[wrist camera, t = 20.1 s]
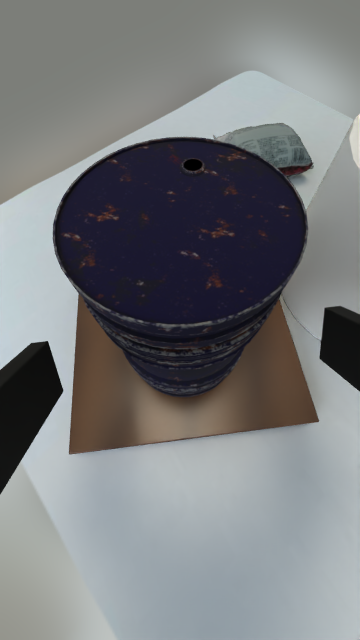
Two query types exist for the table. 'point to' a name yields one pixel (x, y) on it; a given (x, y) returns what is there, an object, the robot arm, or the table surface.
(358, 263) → the cylinder
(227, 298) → the navy ribbed canister
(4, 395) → the robot arm
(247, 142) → the packaged food
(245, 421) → the board
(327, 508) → the table surface
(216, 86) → the table surface
